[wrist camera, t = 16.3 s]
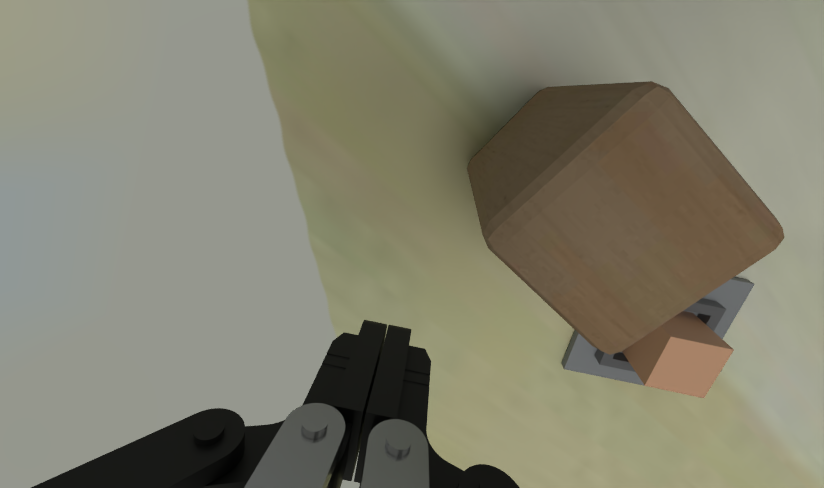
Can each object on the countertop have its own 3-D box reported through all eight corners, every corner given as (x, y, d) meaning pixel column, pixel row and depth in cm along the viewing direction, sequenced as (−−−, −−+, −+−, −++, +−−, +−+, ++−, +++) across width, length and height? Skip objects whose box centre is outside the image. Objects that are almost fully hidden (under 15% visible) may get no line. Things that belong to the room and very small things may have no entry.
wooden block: (533, 235, 38) (611, 369, 20) (462, 166, 36) (475, 242, 18) (618, 162, 35) (807, 240, 17) (545, 82, 33) (666, 69, 15)
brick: (639, 301, 39) (670, 336, 33) (693, 312, 39) (733, 349, 33) (618, 345, 41) (644, 385, 35) (669, 356, 41) (703, 398, 35)
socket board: (607, 251, 38) (617, 261, 36) (747, 279, 38) (766, 291, 36) (561, 363, 43) (567, 378, 41) (684, 388, 43) (697, 405, 41)
